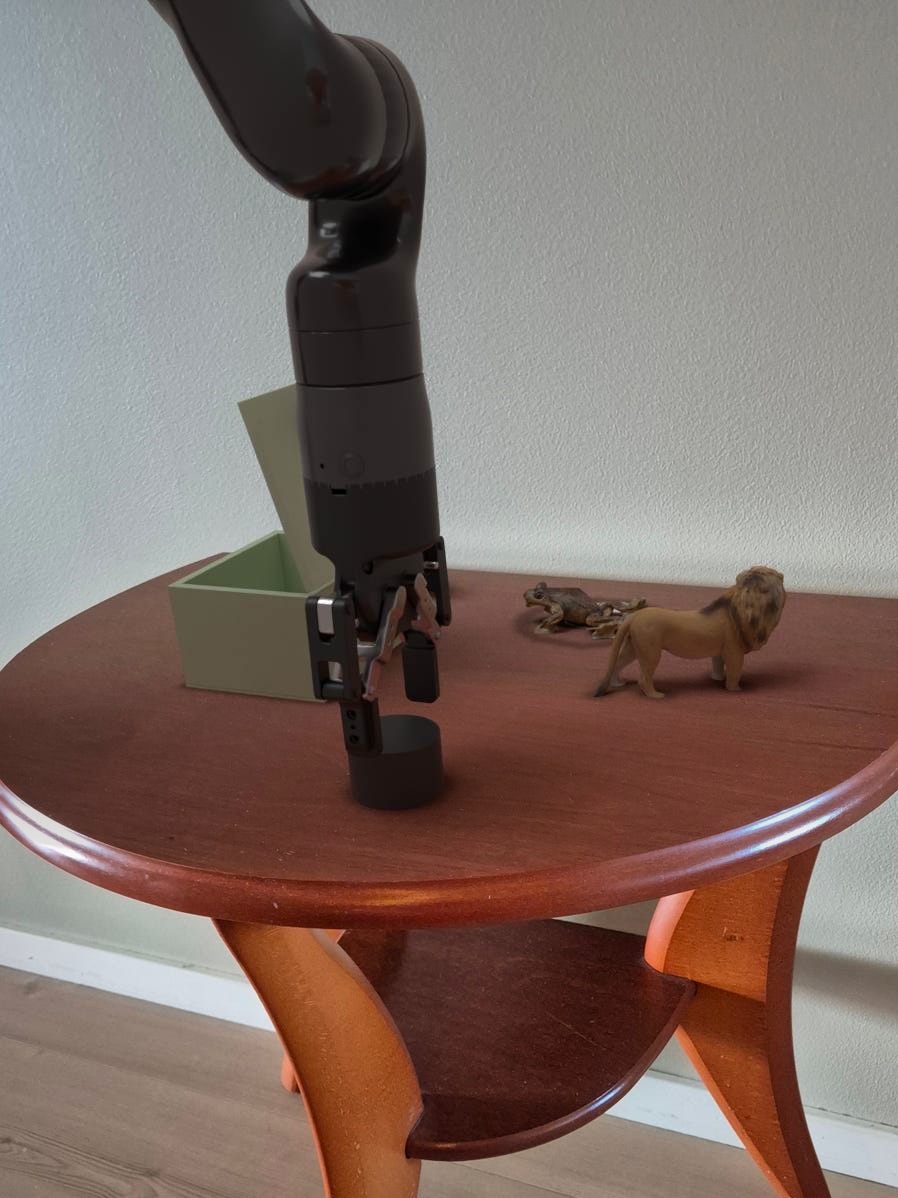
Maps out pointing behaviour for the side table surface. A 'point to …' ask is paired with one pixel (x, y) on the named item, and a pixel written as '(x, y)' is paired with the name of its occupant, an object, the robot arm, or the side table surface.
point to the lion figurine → (702, 631)
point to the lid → (285, 476)
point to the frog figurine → (579, 610)
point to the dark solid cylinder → (400, 766)
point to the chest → (248, 623)
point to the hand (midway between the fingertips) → (395, 726)
